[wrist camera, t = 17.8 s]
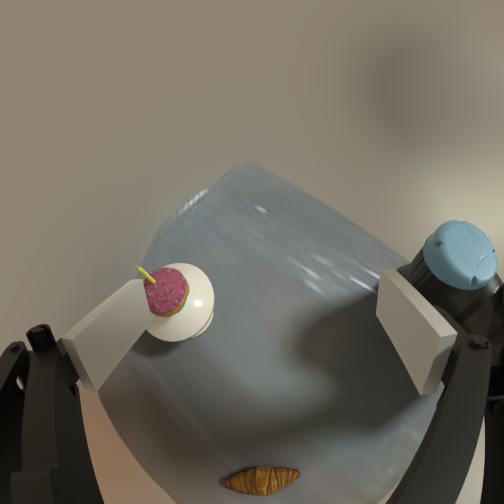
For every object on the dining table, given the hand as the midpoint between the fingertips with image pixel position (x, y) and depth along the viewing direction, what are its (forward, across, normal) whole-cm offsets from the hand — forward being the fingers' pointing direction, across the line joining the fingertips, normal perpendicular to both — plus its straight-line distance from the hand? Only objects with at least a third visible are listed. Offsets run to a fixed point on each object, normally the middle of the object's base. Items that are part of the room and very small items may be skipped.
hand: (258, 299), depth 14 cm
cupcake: (+28, -18, -14) cm, 36 cm away
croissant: (+10, -3, -43) cm, 45 cm away
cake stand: (+34, -19, -19) cm, 43 cm away
